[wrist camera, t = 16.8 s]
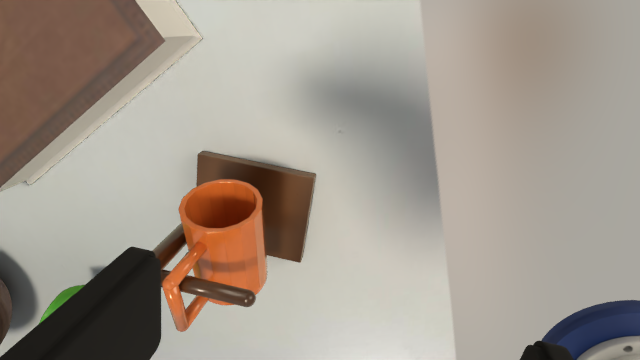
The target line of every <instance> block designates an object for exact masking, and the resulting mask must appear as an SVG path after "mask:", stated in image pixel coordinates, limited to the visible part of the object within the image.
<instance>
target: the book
mask: <svg viewBox="0 0 640 360" xmlns="http://www.w3.org/2000/svg"><path fill="white" fill-rule="evenodd" d="M200 40H202V37H201V36H200V35H199V33H198V32H197V30H196V29H195V28H194V26H193V25H192V23H191V22H190V21H189V19H188V18H187V16H186V15H185V14H184V12H183V11H182V10H181V8H180V7H179V5H178V4H177V3H176V1H175V0H0V191H3V190H5V189H8V188H10V187H12V186H15V185H17V184H19V183H22V182H24V181H26V182H28V183H29V184H30V185H31V184H32V183H34V182H35V181H36V180H37V179H38V178H39V177H41V176H42V175H43V174H44V173H45V172H46V171H48V170H49V169H50V168H51V167H52V166H54V165H55V164H56V163H57V162H58V161H59V160H61V159H62V158H63V157H64V156H65V155H66V154H68V153H69V152H70V151H71V150H72V149H74V148H75V147H76V146H77V145H78V144H79V143H81V142H82V141H83V140H84V139H85V138H86V137H88V136H89V135H90V134H91V133H92V132H93V131H95V130H96V129H97V128H98V127H99V126H101V125H102V124H103V123H104V122H105V121H106V120H108V119H109V118H110V117H111V116H112V115H113V114H115V113H116V112H117V111H118V110H119V109H121V108H122V107H123V106H124V105H125V104H126V103H128V102H129V101H130V100H131V99H132V98H133V97H135V96H136V95H137V94H138V93H139V92H141V91H142V90H143V89H144V88H145V87H146V86H148V85H149V84H150V83H151V82H152V81H153V80H155V79H156V78H157V77H158V76H159V75H160V74H162V73H163V72H164V71H165V70H166V69H168V68H169V67H170V66H171V65H172V64H173V63H175V62H176V61H177V60H178V59H179V58H180V57H182V56H183V55H184V54H185V53H186V52H188V51H189V50H190V49H191V48H192V47H193V46H195V45H196V44H197V43H198V42H199V41H200Z"/></svg>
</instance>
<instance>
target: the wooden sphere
mask: <svg viewBox="0 0 640 360" xmlns="http://www.w3.org/2000/svg"><path fill="white" fill-rule="evenodd" d="M11 318H12V301H11V297H10V294H9V291H8V289H7V287H6V286H5V284H4V283H3V281H2V280H1V279H0V344H1V343H2V341H3V339H4V338H5V336H6V334H7V331H8V329H9V326H10V322H11Z"/></svg>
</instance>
